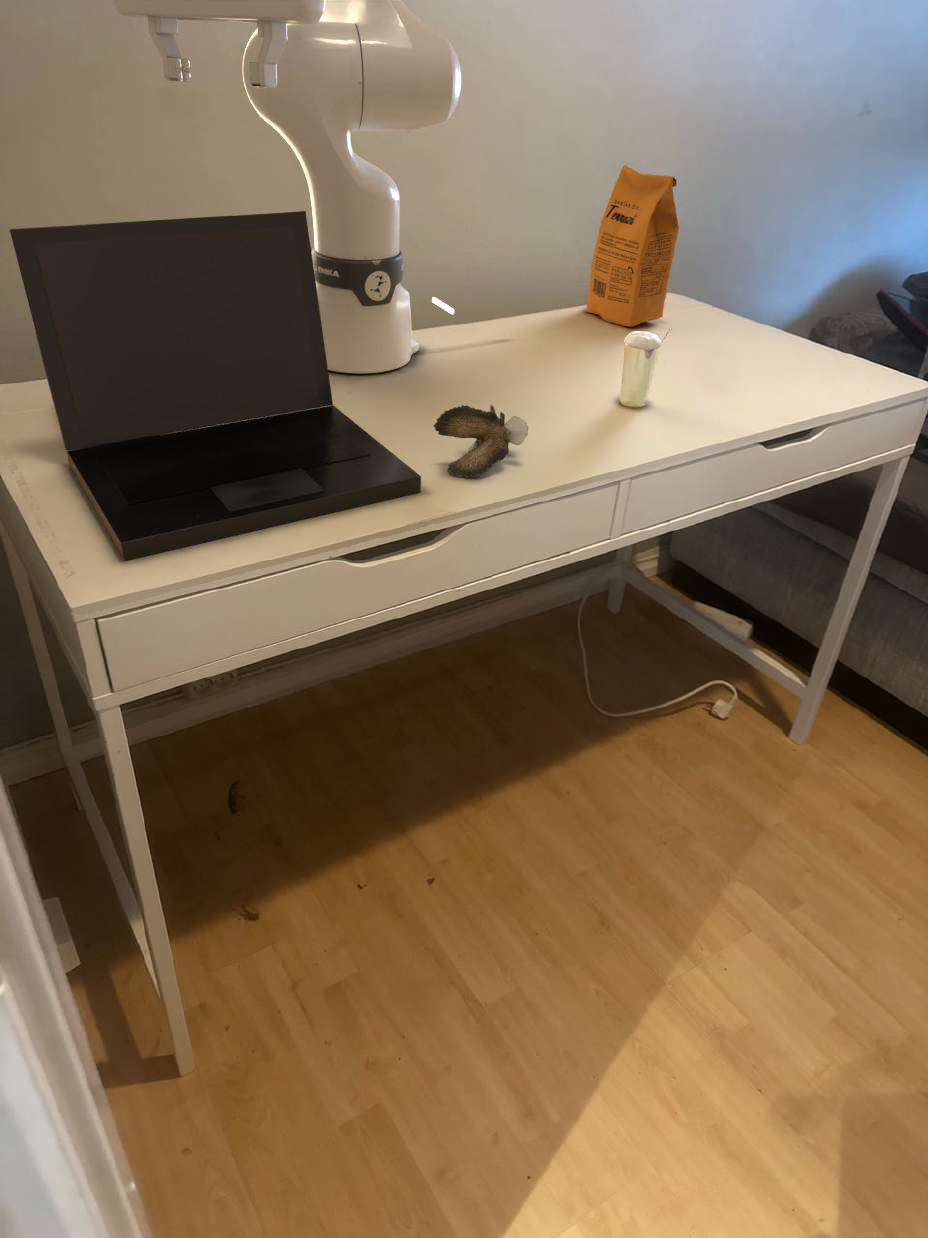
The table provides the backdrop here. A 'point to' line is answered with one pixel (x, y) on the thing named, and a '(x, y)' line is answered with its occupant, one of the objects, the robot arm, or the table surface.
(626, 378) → the milkshake
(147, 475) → the laptop
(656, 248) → the coffee package
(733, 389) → the table surface
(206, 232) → the laptop screen
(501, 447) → the eagle figurine
